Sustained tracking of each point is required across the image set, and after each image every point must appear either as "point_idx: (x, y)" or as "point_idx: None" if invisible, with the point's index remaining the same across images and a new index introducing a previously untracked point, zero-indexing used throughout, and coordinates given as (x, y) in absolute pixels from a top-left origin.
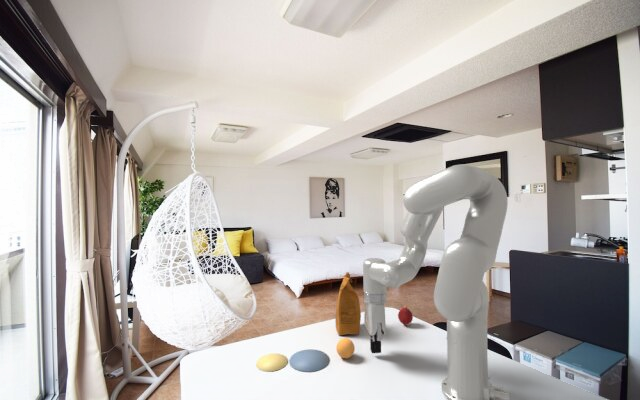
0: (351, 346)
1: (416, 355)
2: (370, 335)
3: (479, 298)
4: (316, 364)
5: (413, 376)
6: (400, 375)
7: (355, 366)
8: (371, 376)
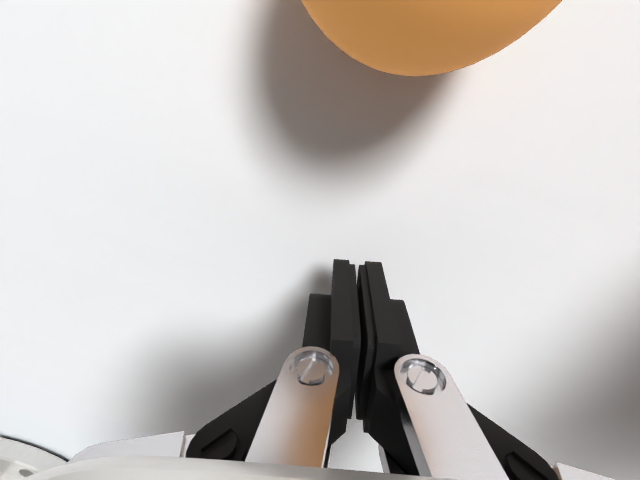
0: None
1: None
2: (444, 384)
3: None
4: None
5: (114, 387)
6: (113, 336)
7: (208, 39)
8: (65, 152)
